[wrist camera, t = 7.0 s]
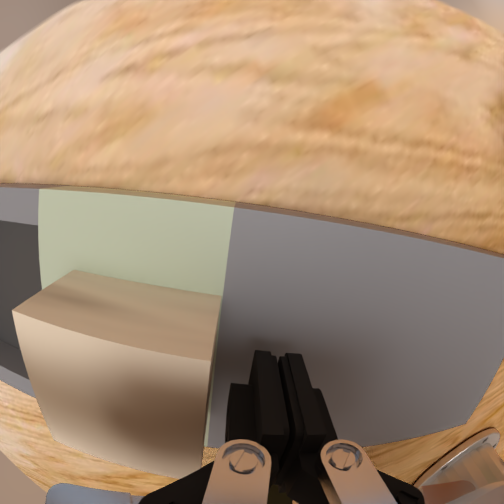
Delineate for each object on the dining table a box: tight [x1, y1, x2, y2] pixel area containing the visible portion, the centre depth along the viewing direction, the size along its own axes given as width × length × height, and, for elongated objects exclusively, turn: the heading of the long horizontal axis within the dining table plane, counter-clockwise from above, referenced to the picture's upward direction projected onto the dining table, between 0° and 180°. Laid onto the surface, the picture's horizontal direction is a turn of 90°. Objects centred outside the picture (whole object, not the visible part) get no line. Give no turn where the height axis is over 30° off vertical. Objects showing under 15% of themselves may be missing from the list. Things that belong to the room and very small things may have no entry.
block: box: [12, 270, 221, 479], centre depth 9 cm, size 6×6×4 cm
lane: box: [0, 183, 504, 448], centre depth 12 cm, size 12×36×2 cm, turn 82°
